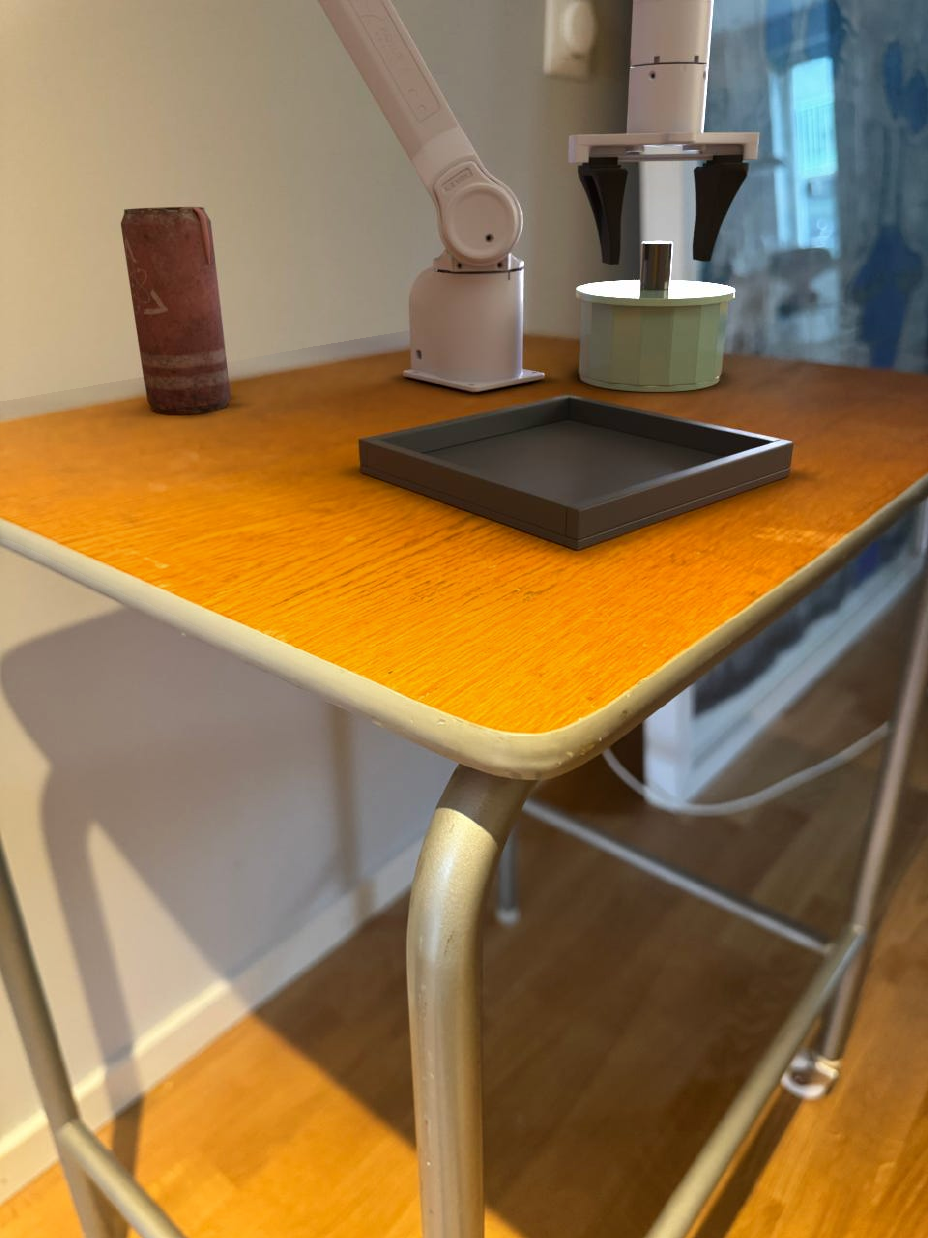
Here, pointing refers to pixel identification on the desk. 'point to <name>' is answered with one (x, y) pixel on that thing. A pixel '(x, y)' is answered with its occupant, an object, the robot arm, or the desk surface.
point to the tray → (575, 466)
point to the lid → (655, 285)
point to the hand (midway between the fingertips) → (656, 262)
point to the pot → (652, 346)
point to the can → (176, 308)
